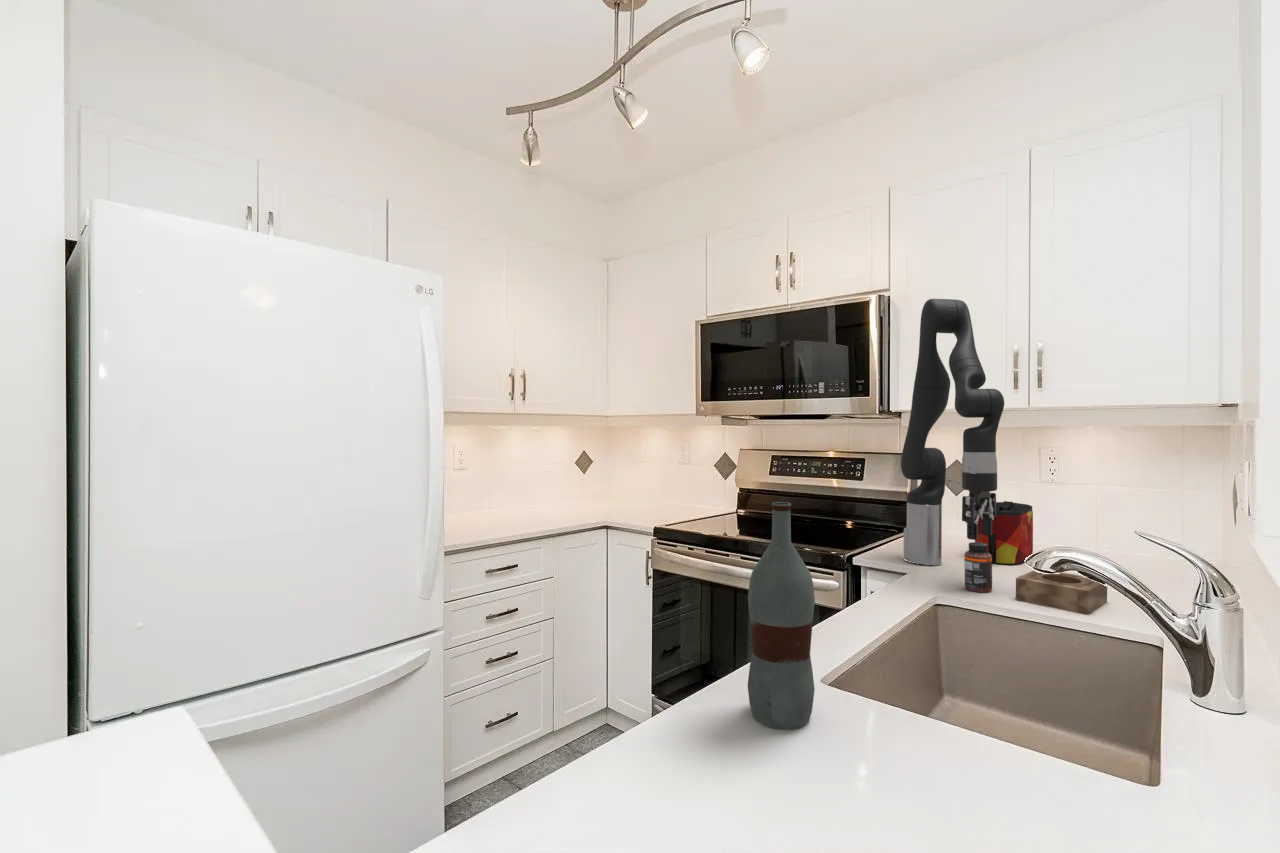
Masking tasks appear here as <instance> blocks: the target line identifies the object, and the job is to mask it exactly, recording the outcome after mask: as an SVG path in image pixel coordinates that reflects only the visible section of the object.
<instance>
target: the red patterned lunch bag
mask: <svg viewBox="0 0 1280 853" xmlns="http://www.w3.org/2000/svg"><path fill="white" fill-rule="evenodd" d="M996 513H997V515H996V517H994V519H993V520H992V535H990V536H988V535H983V534H982V520H984V519H982V518H981V517H979V520H978V523H977V524H978V539H977V540H974V542H979V543H985V544H987V551H988V553H990V554H991V556H992V565H995V564H996V566H1008V567H1010V566H1012V567H1013V566H1021V565H1023V564H1024V563H1025V562H1024V560H1025V558H1026V557H1028V556H1029V555H1031V554H1032V555H1033V552H1034V512H1033V506H1032V505H1030V504H1027V503H1018V502H1013V501H1008V500H1007V501H1006V500H1004V501H996Z"/></svg>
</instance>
